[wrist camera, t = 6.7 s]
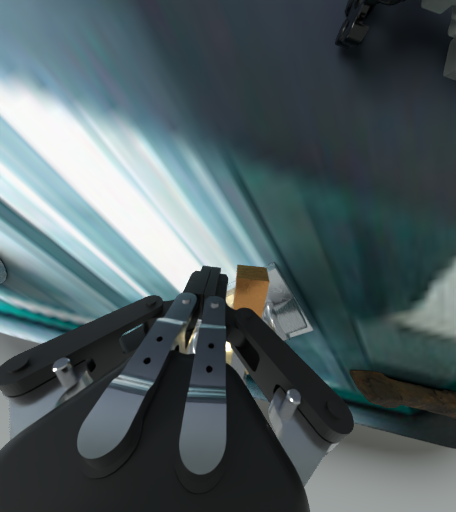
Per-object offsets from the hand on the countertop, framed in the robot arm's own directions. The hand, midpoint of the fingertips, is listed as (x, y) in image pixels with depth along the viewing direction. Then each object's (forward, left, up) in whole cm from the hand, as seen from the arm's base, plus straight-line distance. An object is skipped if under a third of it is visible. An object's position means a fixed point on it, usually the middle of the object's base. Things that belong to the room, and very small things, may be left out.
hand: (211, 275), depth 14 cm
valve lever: (+7, -1, 0) cm, 7 cm away
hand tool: (+39, +12, -8) cm, 42 cm away
